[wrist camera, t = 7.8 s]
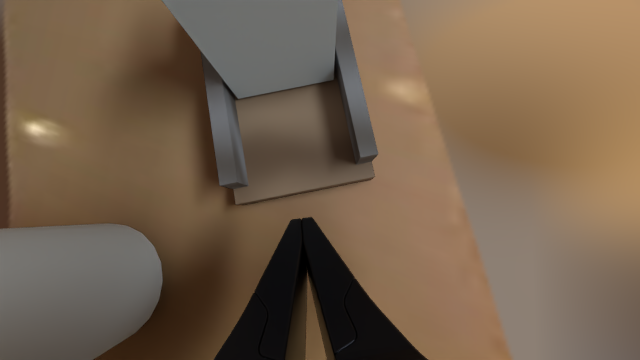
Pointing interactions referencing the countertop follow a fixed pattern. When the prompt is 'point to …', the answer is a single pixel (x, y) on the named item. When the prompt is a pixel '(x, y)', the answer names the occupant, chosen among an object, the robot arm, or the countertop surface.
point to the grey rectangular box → (263, 41)
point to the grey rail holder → (293, 132)
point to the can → (74, 289)
